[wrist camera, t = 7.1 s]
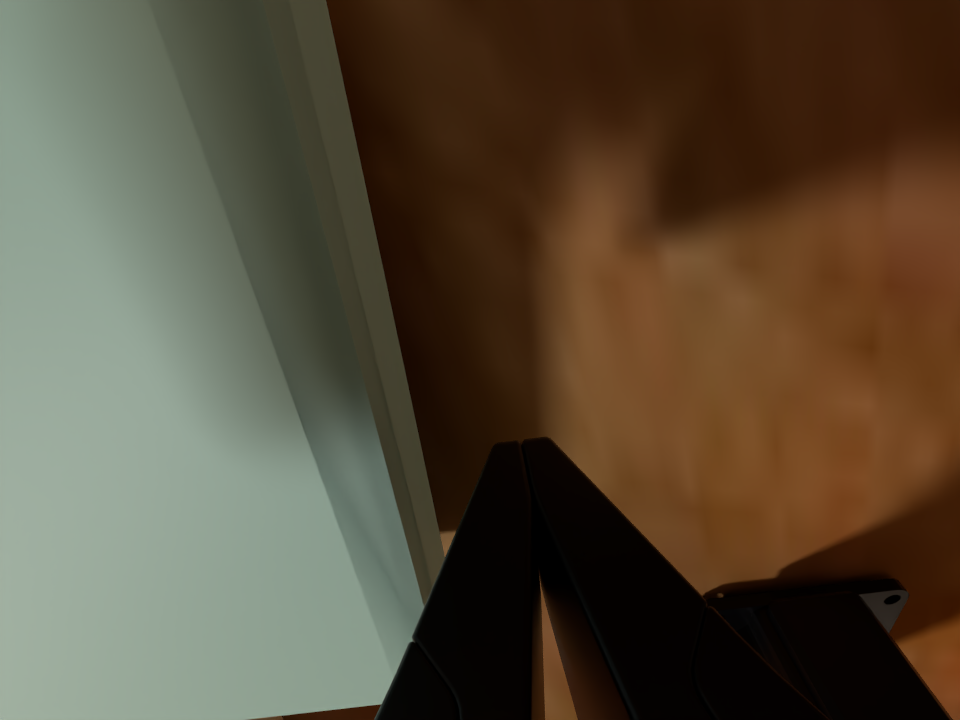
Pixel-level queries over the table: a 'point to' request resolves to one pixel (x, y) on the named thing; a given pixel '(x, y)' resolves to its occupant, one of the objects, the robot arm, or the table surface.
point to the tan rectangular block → (269, 718)
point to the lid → (196, 373)
